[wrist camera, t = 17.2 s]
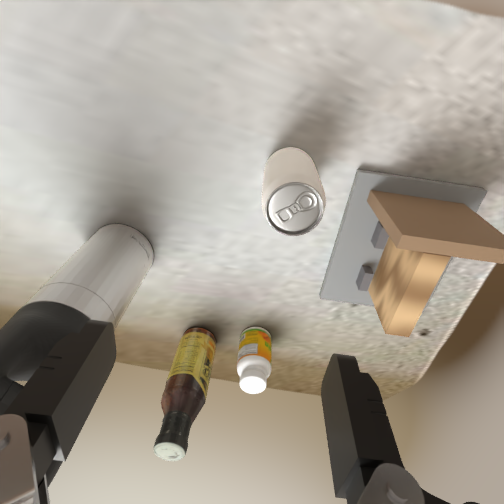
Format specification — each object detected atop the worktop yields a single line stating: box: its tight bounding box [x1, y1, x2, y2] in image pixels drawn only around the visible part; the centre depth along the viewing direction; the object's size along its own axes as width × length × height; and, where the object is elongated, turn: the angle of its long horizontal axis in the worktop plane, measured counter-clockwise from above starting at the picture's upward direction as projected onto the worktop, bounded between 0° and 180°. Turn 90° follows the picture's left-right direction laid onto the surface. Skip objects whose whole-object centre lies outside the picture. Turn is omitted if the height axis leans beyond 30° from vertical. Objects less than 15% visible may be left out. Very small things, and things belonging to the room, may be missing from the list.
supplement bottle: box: [237, 327, 271, 394], centre depth 53 cm, size 5×5×10 cm
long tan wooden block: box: [368, 237, 451, 337], centre depth 42 cm, size 12×4×9 cm, turn 172°
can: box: [262, 147, 326, 236], centre depth 37 cm, size 6×6×12 cm
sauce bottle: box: [154, 327, 216, 461], centre depth 50 cm, size 7×6×20 cm
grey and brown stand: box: [320, 169, 504, 313], centre depth 41 cm, size 20×16×13 cm
